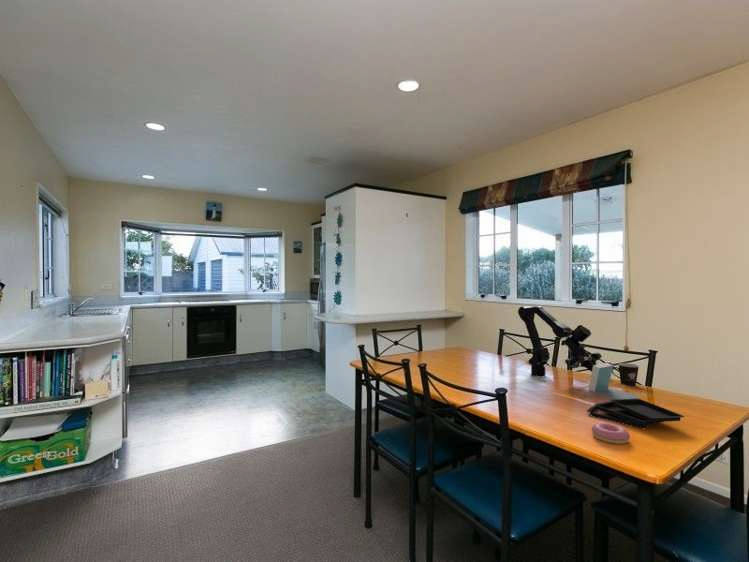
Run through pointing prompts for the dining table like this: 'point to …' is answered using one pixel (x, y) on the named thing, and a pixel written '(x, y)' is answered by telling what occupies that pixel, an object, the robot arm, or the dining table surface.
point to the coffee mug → (627, 373)
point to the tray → (634, 412)
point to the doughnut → (610, 433)
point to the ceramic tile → (600, 377)
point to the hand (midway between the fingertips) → (597, 374)
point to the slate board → (615, 394)
